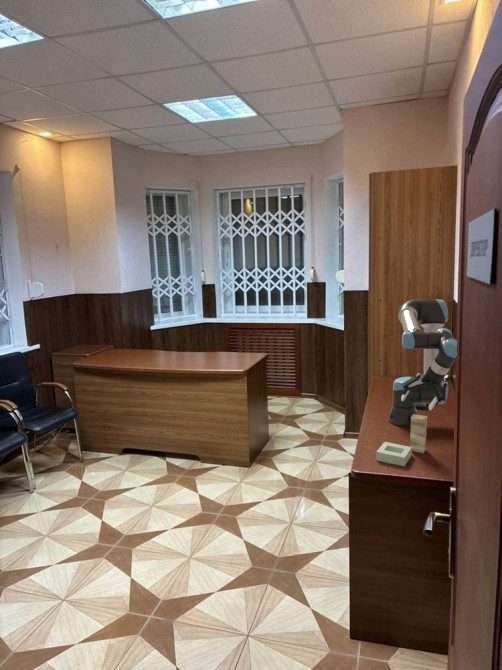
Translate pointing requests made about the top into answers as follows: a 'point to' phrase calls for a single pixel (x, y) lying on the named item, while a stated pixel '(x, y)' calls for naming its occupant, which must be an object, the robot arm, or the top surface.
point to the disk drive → (421, 406)
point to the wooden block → (418, 433)
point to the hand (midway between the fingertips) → (415, 403)
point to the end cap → (394, 453)
